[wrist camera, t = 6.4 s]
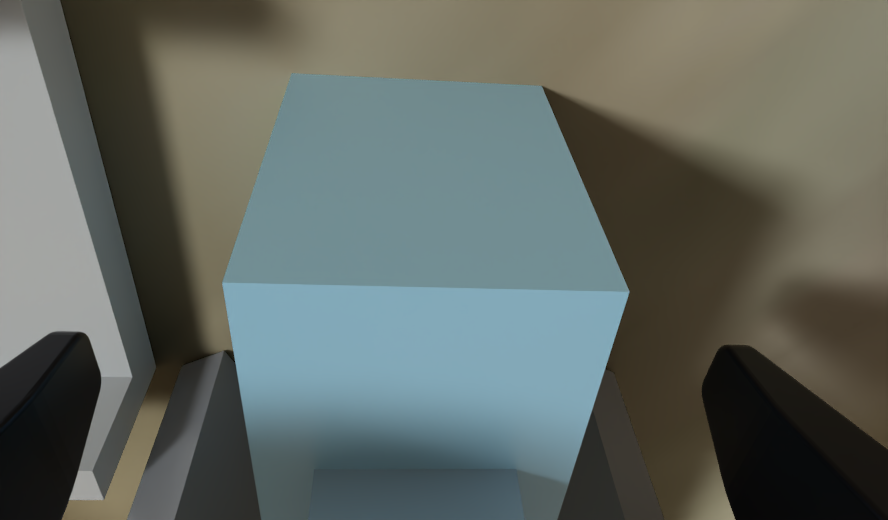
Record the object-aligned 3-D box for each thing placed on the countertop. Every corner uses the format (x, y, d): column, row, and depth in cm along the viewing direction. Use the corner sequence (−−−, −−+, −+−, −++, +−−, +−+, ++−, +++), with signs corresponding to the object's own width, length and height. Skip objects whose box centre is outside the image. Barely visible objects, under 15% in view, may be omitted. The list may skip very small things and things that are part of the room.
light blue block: (494, 357, 14) (541, 655, 9) (310, 354, 14) (266, 662, 9) (540, 84, 10) (655, 351, 6) (292, 71, 10) (202, 345, 5)
